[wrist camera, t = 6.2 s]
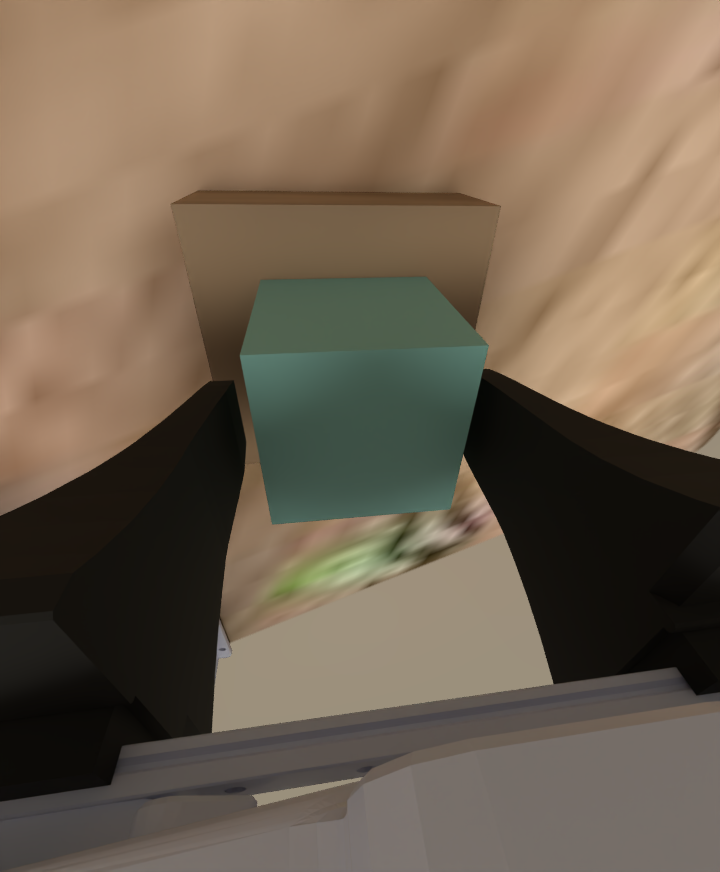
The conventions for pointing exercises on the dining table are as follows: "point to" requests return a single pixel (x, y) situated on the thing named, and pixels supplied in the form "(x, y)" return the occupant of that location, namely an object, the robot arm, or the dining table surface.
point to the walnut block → (322, 254)
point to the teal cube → (359, 395)
